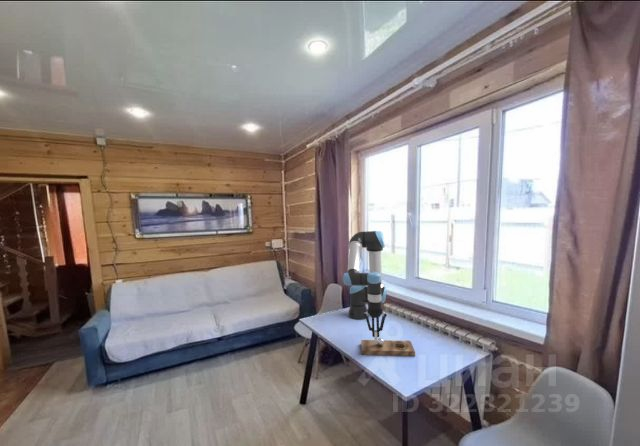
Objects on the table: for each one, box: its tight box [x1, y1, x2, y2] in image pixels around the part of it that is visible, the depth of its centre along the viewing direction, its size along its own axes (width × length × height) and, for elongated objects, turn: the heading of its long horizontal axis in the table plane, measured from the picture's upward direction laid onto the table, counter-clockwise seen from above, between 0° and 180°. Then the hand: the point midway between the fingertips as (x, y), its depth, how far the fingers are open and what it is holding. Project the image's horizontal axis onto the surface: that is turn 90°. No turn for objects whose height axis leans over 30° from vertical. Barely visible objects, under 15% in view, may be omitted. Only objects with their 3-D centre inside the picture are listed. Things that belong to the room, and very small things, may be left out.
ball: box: [377, 337, 385, 346], centre depth 149 cm, size 4×4×4 cm
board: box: [360, 339, 416, 357], centre depth 149 cm, size 28×12×2 cm, turn 83°
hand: (375, 342), depth 150 cm, fingers closed
